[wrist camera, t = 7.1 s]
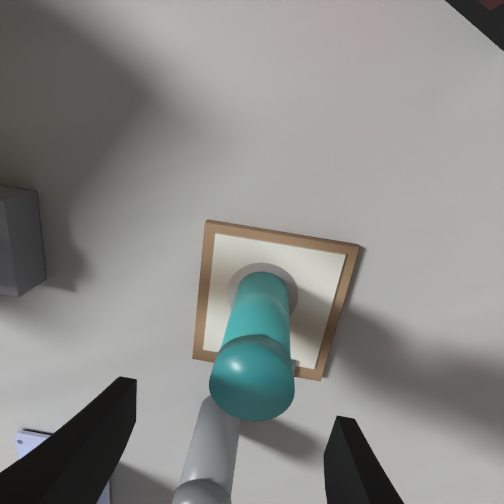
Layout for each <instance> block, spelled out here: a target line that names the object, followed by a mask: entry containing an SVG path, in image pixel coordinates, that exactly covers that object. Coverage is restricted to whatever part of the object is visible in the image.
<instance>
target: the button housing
mask: <svg viewBox="0 0 504 504" xmlns="http://www.w3.org/2000/svg"><path fill="white" fill-rule="evenodd" d="M44 280H46V270H45V261H44V252H43V243H42V234H41V225H40V216H39V207H38V198H37V191H31V190H25V189H18V188H12V187H6V186H0V294H1V295H6V296H12V297H18V298H19V297H20V296H22V295H23V294H25V293H26V292H28V291H29V290H31V289H32V288H34V287H35V286H37V285H38V284H40V283H41V282H43V281H44Z"/></svg>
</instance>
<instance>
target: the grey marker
mask: <svg viewBox="0 0 504 504" xmlns="http://www.w3.org/2000/svg"><path fill="white" fill-rule="evenodd" d="M240 425H241V419H239V418H236V417H233V416H231V415H229V414H227V413H226V412H224V411H223V410H222V409H221V408H220V407H218V405H217V404H216V403H215V402H214V400H213V398H212V396H209V397H207V398H206V399H205V400H204V401H203V402H202V405H201V408H200V412H199V415H198V419H197V422H196V426H195V429H194V433H193V436H192V440H191V443H190V447H189V450H188V454H187V457H186V461H185V464H184V468H183V471H182V475H181V478H180V482H179V485H178V488H177V489H176V490H175V493H174V496H173V500H172V503H171V504H231V499H230V498H231V490H232V483H233V476H234V469H235V461H236V454H237V447H238V439H239V432H240Z"/></svg>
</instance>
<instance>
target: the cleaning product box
mask: <svg viewBox="0 0 504 504" xmlns="http://www.w3.org/2000/svg"><path fill="white" fill-rule="evenodd" d="M445 1H446V2H448V3H449V4H450V5H451V6H452V7H453V8H455V9H456V10H457V11H458V12H459V13H460V14H461V15H463V16H464V17H465V18H466V19H467V20H468V21H470V22H471V23H472V24H473V25H474V26H475V27H476V28H478V29H479V30H480V31H481V32H482V33H483V34H484V35H486V36H487V37H488V38H489V39H490V40H491V41H493V42H494V43H495V44H496V45H497V46H498V47H499V48H501V49H502V50H503V51H504V0H445Z"/></svg>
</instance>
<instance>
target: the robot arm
mask: <svg viewBox="0 0 504 504" xmlns="http://www.w3.org/2000/svg"><path fill="white" fill-rule="evenodd" d="M136 392H137V379H132V378H126V377H121V376H120V377H118V378H117V379H116V380H115V381H114V382H113V383H111V384H110V385H109V386H108V387H107V388H106V389H105V390H104V391H103V392H102V393H101V394H99V395H98V396H97V397H96V398H95V399H94V400H93V401H92V402H90V403H89V404H88V405H87V406H86V407H85V408H84V409H82V410H81V411H80V412H79V413H78V414H77V415H75V416H74V417H73V418H72V419H71V420H69V421H68V422H67V423H66V424H65V425H63V426H62V427H61V428H60V429H59V430H57V431H56V432H55V433H53V434H52V435H46V434H41V433H36V432H30V431H25V430H18V431H17V432H16V433H15V435H14V439H15V444H16V449H17V454H18V459H19V460H18V461H16V462H15V463H13V464H12V465H11V466H9V467H8V468H6V469H5V470H3V471H2V472H0V504H110V485H109V479H110V477H111V475H112V473H113V471H114V469H115V467H116V465H117V464H118V462H119V460H120V458H121V456H122V454H123V452H124V450H125V447H126V445H127V442H128V440H129V438H130V435H131V432H132V430H133V427H134V425H135V422H136ZM324 476H325V490H326V497H327V504H404V503H403V501H402V499H401V498H400V496H399V495H398V493H397V492H396V490H395V488H394V487H393V485H392V483H391V482H390V480H389V478H388V477H387V475H386V473H385V472H384V470H383V468H382V467H381V465H380V463H379V462H378V460H377V458H376V456H375V455H374V453H373V451H372V449H371V448H370V446H369V444H368V442H367V440H366V438H365V437H364V435H363V433H362V431H361V429H360V427H359V426H358V424H357V422H356V420H355V419H353V418H348V417H342V416H337V417H336V420H335V423H334V426H333V429H332V432H331V435H330V438H329V441H328V444H327V446H326V449H325V452H324Z"/></svg>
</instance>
